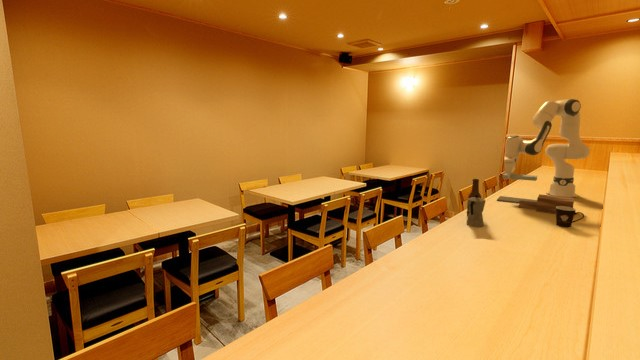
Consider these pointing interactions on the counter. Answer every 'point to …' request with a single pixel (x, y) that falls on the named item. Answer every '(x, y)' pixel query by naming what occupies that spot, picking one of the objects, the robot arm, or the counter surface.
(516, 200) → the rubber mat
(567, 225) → the coffee mug
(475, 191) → the beer bottle
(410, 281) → the counter surface
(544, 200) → the walnut case
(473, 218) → the coffeepot
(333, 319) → the counter surface
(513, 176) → the cover plate
